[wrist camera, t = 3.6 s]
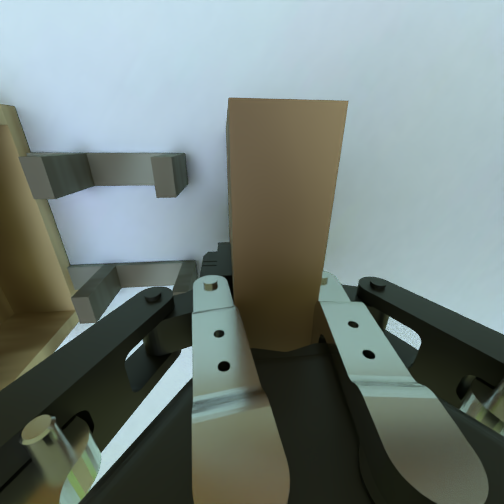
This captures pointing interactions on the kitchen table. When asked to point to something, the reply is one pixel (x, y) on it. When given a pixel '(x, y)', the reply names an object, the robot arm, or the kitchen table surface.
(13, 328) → the cabinet
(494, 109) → the kitchen table surface
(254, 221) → the door
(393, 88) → the kitchen table surface
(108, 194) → the kitchen table surface
